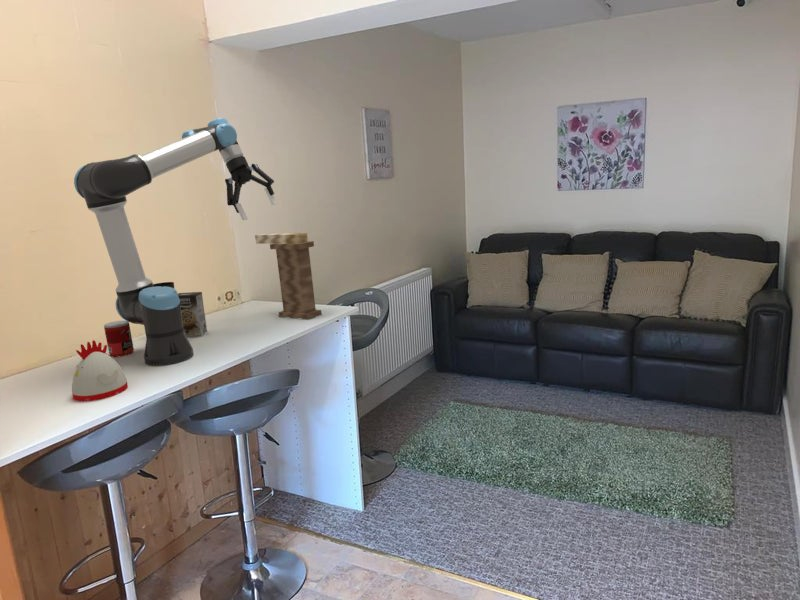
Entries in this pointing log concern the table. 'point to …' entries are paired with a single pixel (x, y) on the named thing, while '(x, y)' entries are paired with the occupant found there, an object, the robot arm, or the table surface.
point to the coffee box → (193, 314)
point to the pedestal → (296, 280)
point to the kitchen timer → (97, 375)
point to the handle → (281, 238)
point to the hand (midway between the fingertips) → (259, 212)
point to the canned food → (119, 338)
